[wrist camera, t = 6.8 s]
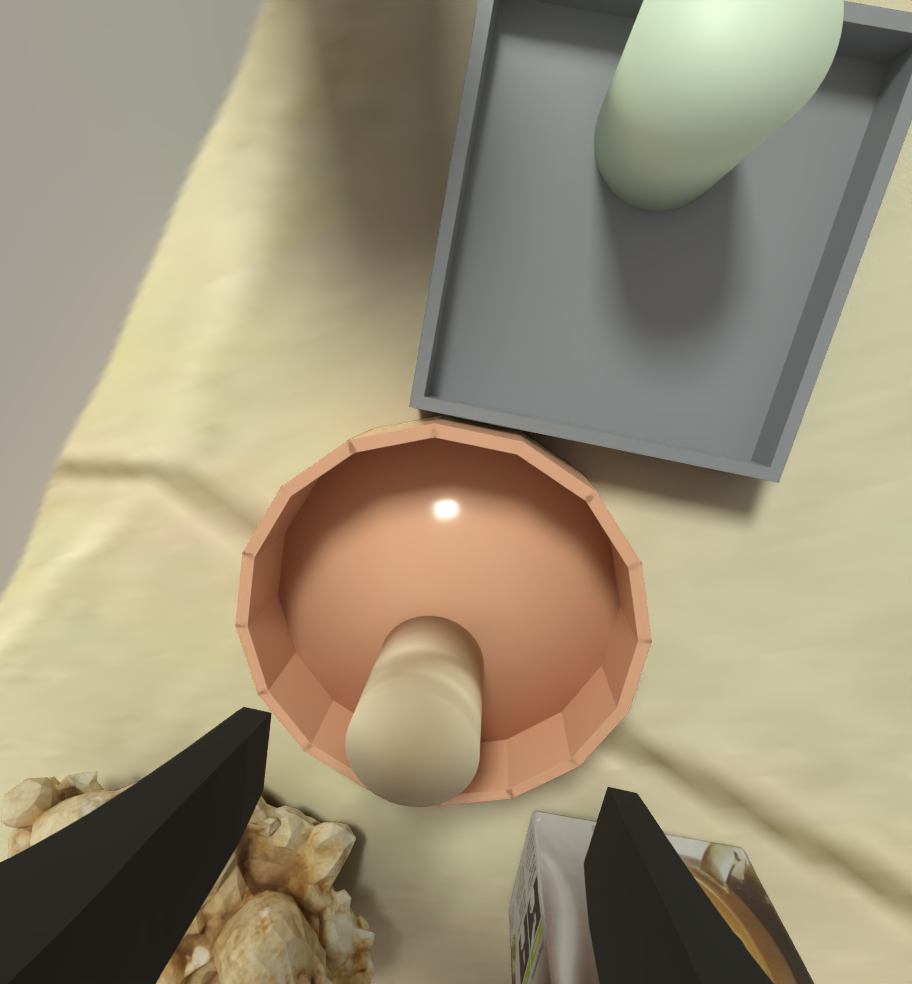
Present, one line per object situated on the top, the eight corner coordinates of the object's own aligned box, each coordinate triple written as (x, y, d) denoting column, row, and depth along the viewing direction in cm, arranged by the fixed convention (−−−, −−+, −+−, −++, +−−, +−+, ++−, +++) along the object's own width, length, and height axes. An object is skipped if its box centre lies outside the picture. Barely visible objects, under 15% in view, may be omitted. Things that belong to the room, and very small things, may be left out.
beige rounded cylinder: (494, 629, 18) (493, 710, 14) (470, 719, 19) (463, 819, 15) (390, 604, 19) (357, 677, 14) (371, 695, 20) (335, 788, 15)
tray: (892, 63, 14) (948, 19, 12) (749, 471, 17) (778, 482, 15) (489, -9, 14) (489, -62, 13) (417, 403, 17) (409, 406, 16)
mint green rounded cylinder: (757, 67, 14) (876, -73, 10) (711, 223, 15) (801, 161, 10) (614, 42, 14) (668, -108, 10) (579, 197, 15) (612, 126, 11)
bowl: (670, 460, 17) (705, 478, 14) (573, 773, 20) (586, 840, 17) (297, 384, 18) (257, 386, 15) (261, 702, 21) (223, 756, 18)
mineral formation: (197, 989, 25) (-29, 786, 22) (417, 847, 25) (221, 618, 21) (101, 1261, 17) (-273, 1007, 14) (423, 1059, 17) (113, 749, 14)
